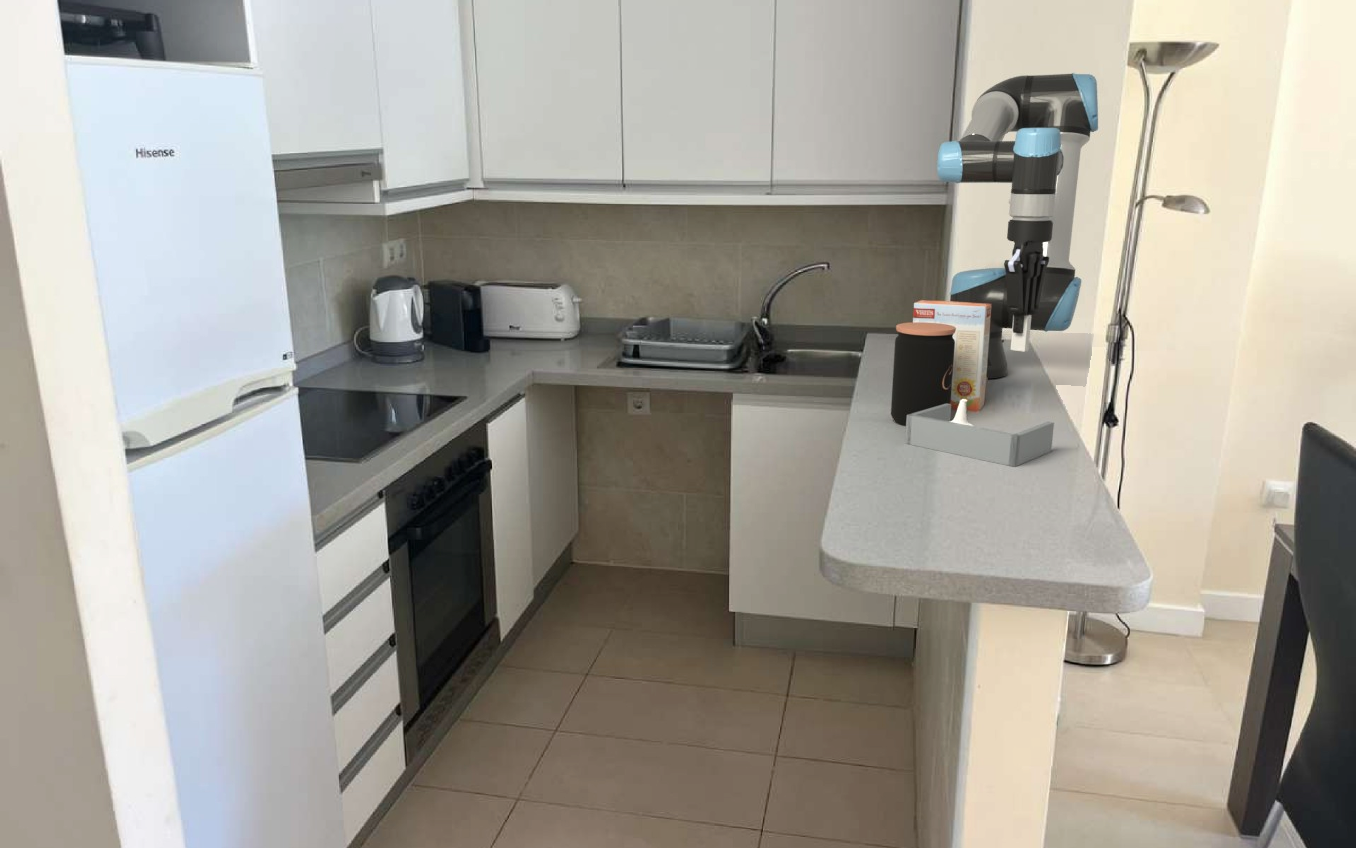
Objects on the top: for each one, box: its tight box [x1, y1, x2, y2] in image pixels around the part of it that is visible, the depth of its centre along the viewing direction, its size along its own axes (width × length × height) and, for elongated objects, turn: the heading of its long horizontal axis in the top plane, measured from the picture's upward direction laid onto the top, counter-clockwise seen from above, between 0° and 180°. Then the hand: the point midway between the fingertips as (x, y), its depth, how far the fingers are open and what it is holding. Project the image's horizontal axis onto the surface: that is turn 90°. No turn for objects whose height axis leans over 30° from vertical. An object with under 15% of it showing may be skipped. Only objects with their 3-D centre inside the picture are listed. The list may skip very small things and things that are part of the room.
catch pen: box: [904, 403, 1055, 468], centre depth 169 cm, size 13×20×5 cm, turn 45°
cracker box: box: [912, 299, 991, 412], centre depth 197 cm, size 14×6×21 cm, turn 62°
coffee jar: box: [890, 321, 956, 427], centre depth 185 cm, size 11×11×18 cm
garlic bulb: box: [949, 399, 974, 426], centre depth 170 cm, size 6×6×8 cm
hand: (1019, 350), depth 183 cm, fingers closed
